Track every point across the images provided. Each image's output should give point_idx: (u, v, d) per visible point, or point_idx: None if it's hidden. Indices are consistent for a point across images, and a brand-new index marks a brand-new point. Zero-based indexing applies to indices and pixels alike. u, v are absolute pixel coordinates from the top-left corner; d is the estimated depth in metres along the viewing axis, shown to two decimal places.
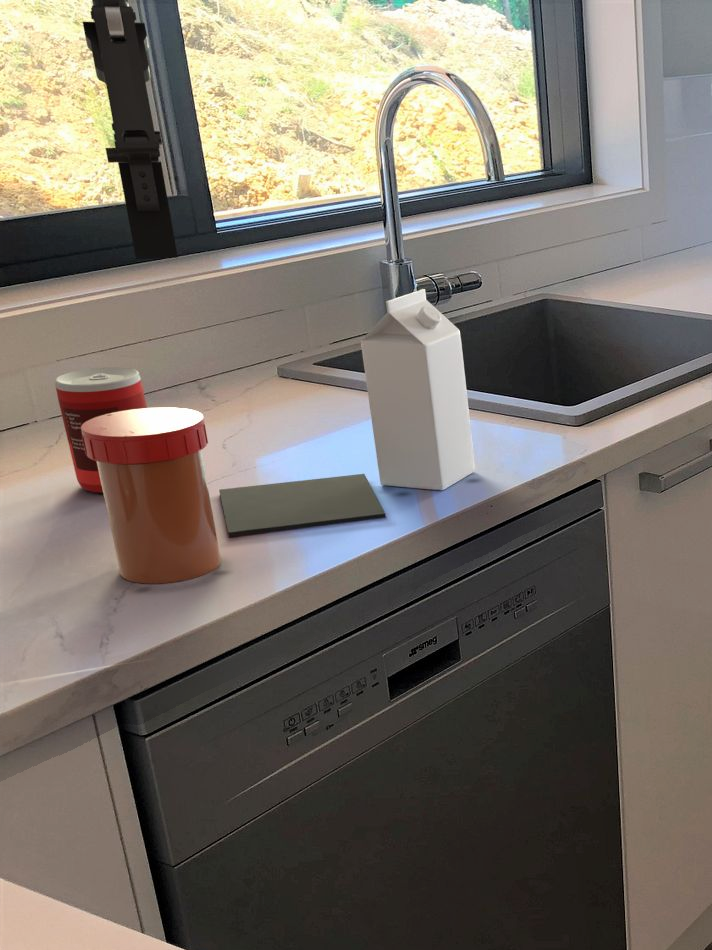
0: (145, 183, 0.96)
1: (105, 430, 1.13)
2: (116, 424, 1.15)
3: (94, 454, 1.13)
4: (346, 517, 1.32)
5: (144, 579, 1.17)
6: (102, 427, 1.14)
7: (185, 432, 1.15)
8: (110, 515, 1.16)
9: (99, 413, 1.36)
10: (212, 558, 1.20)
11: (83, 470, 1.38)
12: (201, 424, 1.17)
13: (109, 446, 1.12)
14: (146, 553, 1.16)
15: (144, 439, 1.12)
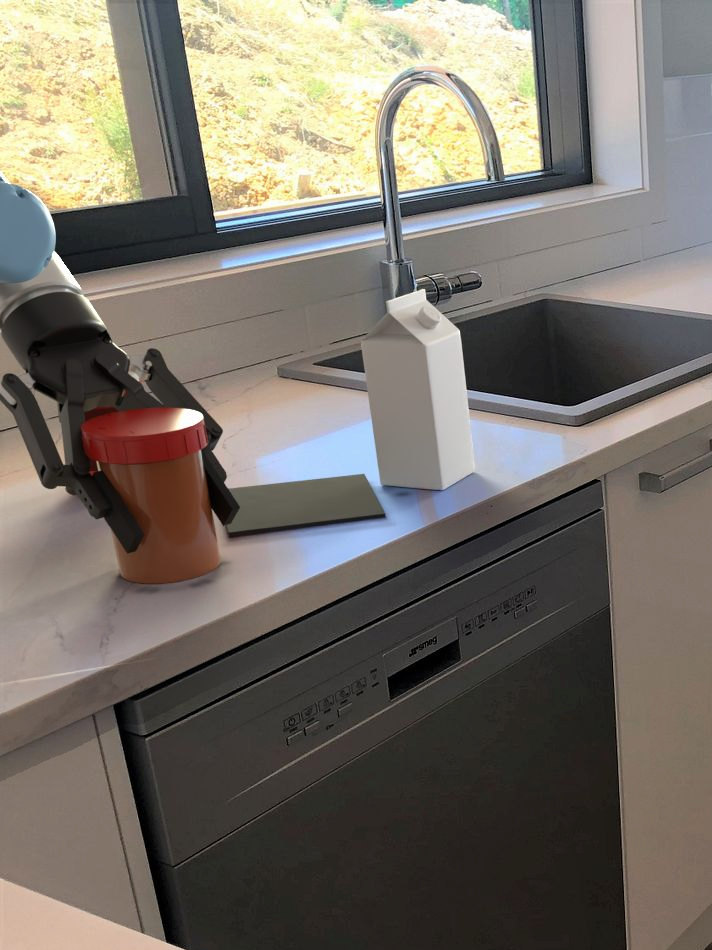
0: None
1: (105, 430, 1.13)
2: (116, 424, 1.15)
3: (94, 454, 1.13)
4: (346, 517, 1.32)
5: (144, 579, 1.17)
6: (102, 427, 1.14)
7: (185, 432, 1.15)
8: None
9: (99, 413, 1.36)
10: (212, 558, 1.20)
11: None
12: (201, 424, 1.17)
13: (109, 446, 1.12)
14: (146, 553, 1.16)
15: (144, 439, 1.12)
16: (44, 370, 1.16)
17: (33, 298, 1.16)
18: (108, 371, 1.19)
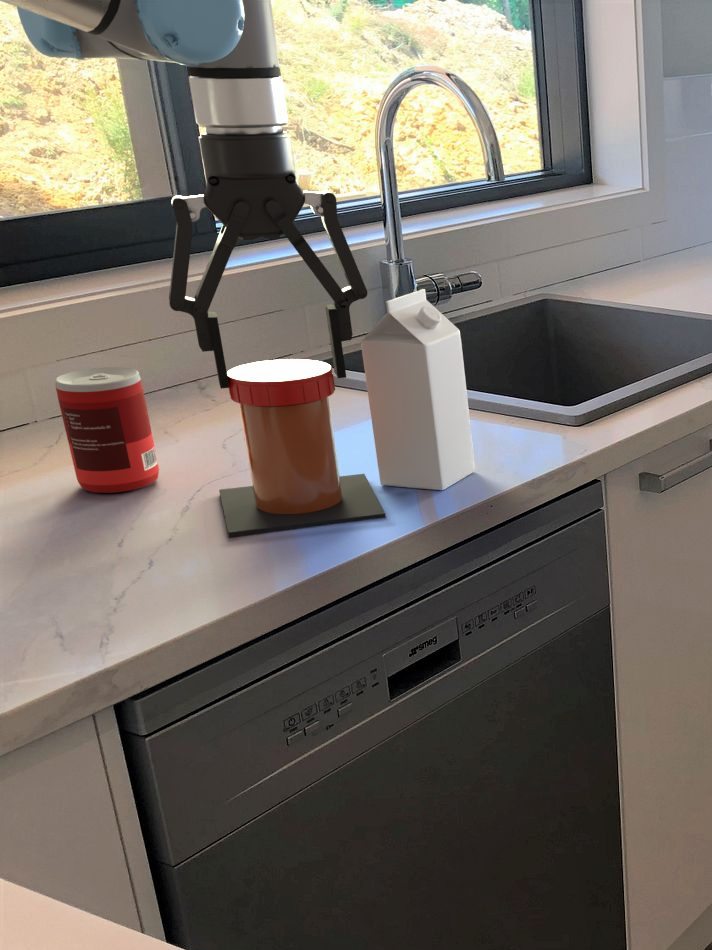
0: None
1: (249, 377, 1.29)
2: (257, 372, 1.30)
3: (240, 398, 1.28)
4: (346, 517, 1.32)
5: (279, 510, 1.33)
6: (246, 374, 1.29)
7: (318, 379, 1.30)
8: (250, 453, 1.32)
9: (99, 413, 1.36)
10: (337, 493, 1.36)
11: (83, 470, 1.38)
12: (330, 373, 1.32)
13: (254, 390, 1.27)
14: (281, 487, 1.32)
15: (285, 384, 1.28)
16: (216, 203, 1.23)
17: (226, 136, 1.19)
18: (274, 220, 1.25)
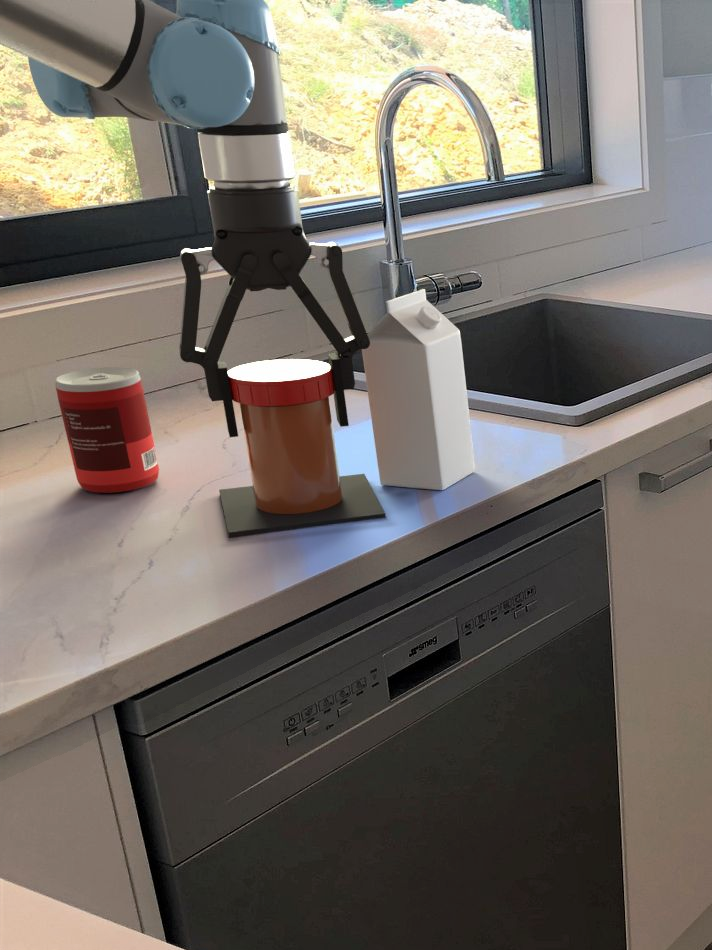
0: None
1: (249, 376, 1.29)
2: (257, 372, 1.30)
3: (240, 397, 1.28)
4: (346, 517, 1.32)
5: (279, 510, 1.33)
6: (246, 374, 1.29)
7: (319, 379, 1.30)
8: (250, 453, 1.32)
9: (99, 413, 1.36)
10: (337, 493, 1.36)
11: (83, 470, 1.38)
12: (331, 373, 1.32)
13: (254, 390, 1.27)
14: (282, 486, 1.32)
15: (285, 384, 1.28)
16: (223, 255, 1.25)
17: (234, 191, 1.21)
18: (281, 272, 1.26)
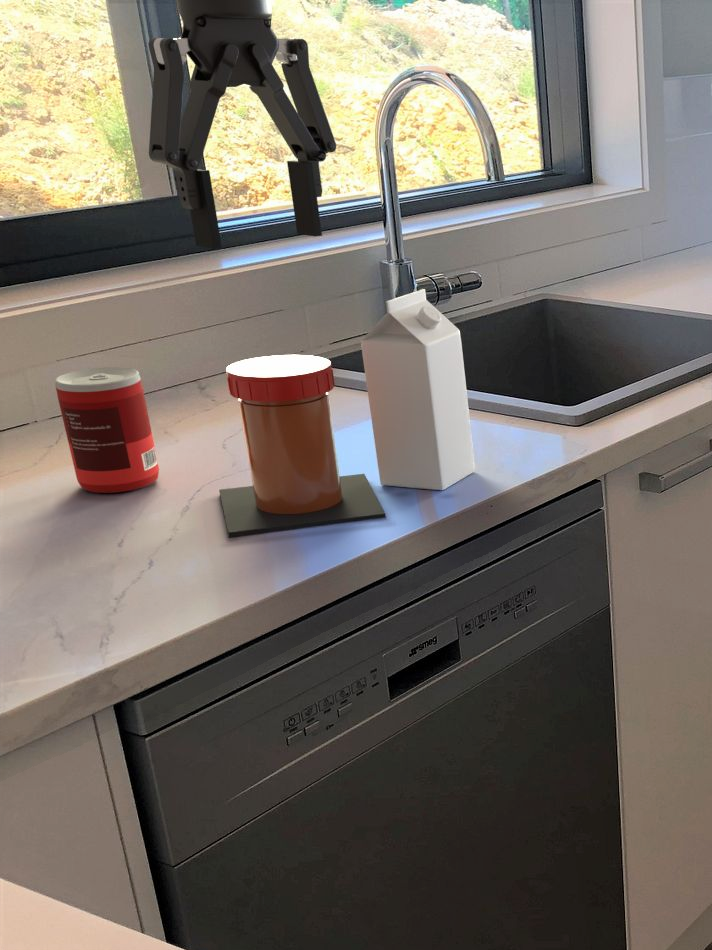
0: (183, 186, 1.19)
1: (243, 365, 1.31)
2: (264, 363, 1.32)
3: None
4: (346, 517, 1.32)
5: (279, 510, 1.33)
6: (252, 362, 1.32)
7: (268, 381, 1.27)
8: (250, 453, 1.32)
9: (99, 413, 1.36)
10: (337, 493, 1.36)
11: (83, 470, 1.38)
12: (294, 379, 1.28)
13: (227, 377, 1.30)
14: (282, 487, 1.32)
15: (235, 378, 1.28)
16: None
17: None
18: None
